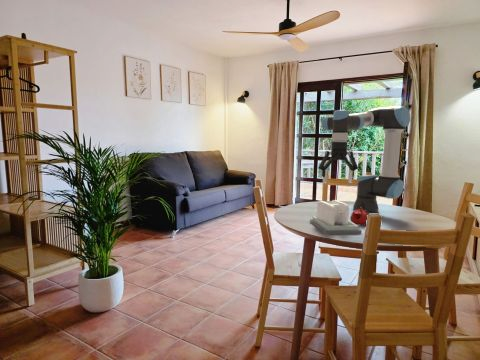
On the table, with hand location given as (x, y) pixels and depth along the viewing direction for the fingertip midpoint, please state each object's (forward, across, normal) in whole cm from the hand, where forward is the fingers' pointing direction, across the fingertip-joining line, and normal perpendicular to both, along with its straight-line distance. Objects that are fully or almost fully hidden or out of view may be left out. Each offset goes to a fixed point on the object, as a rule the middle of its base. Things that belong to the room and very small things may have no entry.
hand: (337, 183), depth 158 cm
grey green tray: (+23, +1, +2) cm, 23 cm away
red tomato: (+23, -16, -4) cm, 28 cm away
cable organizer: (+21, +3, +2) cm, 22 cm away
